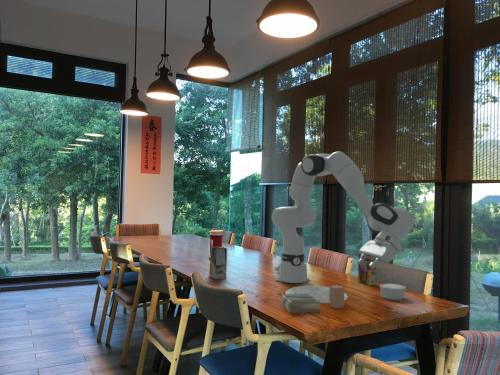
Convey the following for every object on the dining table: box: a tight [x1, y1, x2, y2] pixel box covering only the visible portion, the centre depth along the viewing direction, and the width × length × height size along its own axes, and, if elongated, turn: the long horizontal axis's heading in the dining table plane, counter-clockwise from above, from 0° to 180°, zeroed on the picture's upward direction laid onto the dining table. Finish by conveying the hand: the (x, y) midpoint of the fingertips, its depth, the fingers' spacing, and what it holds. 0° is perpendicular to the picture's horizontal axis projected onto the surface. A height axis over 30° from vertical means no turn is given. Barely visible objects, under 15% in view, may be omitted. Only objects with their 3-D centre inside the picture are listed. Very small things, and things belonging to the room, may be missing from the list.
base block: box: [280, 293, 321, 314], centre depth 159 cm, size 12×12×4 cm
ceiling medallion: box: [284, 284, 349, 304], centre depth 180 cm, size 28×28×3 cm
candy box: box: [357, 252, 377, 286], centre depth 207 cm, size 9×4×15 cm, turn 29°
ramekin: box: [379, 283, 407, 301], centre depth 179 cm, size 11×11×5 cm
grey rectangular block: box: [328, 285, 345, 309], centre depth 162 cm, size 4×4×8 cm
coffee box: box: [209, 245, 228, 280], centre depth 213 cm, size 9×6×16 cm
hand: (364, 265), depth 165 cm, fingers open, 8 cm apart
